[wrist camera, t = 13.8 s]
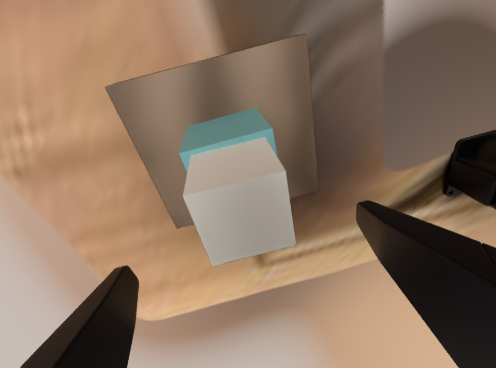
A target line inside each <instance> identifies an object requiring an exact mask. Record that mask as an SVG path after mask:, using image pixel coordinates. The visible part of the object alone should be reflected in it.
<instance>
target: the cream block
mask: <svg viewBox="0 0 496 368" xmlns="http://www.w3.org/2000/svg"><path fill="white" fill-rule="evenodd" d="M183 198H184V201H185V203H186V205H187V208H188V210H189V212H190V215H191V217H192V220H193V222H194V224H195V227H196V229H197V231H198V234H199V236H200V238H201V241H202V243H203V245H204V248H205V250H206V252H207V255H208V257H209V259H210V262H211V264H212V266H215V265H219V264H223V263H227V262H231V261H235V260H239V259H243V258H247V257H251V256H255V255H259V254H263V253H267V252H271V251H275V250H279V249H283V248H287V247H291V246H294V245H296V242H295V235H294V227H293V220H292V213H291V206H290V198H289V191H288V184H287V177H286V170H285V169H284V167H283V166H282V164H281V162H280V161H279V159H278V157H277V156H276V154H275V152H274V151H273V149H272V148H271V146H270V144H269V143H268V141H267V139H266V138H265V137H263V138H259V139H255V140H251V141H247V142H243V143H238V144H234V145H230V146H226V147H222V148H218V149H214V150H210V151H206V152H202V153H198V154H194V155H191V157H190V162H189V167H188V172H187V177H186V182H185V187H184V192H183Z"/></svg>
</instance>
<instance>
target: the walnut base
mask: <svg viewBox="0 0 496 368" xmlns="http://www.w3.org/2000/svg"><path fill="white" fill-rule="evenodd" d="M105 89H106V91H107V93H108V95H109V97H110V99H111V101H112V102H113V104H114V106H115V108H116V110H117V112H118V114H119V116H120V118H121V120H122V122H123V124H124V126H125V128H126V130H127V132H128V134H129V136H130V138H131V140H132V142H133V144H134V146H135V148H136V149H137V151H138V153H139V155H140V157H141V159H142V161H143V163H144V165H145V167H146V169H147V171H148V173H149V175H150V177H151V179H152V181H153V183H154V185H155V187H156V189H157V191H158V193H159V195H160V196H161V198H162V200H163V202H164V204H165V206H166V208H167V210H168V212H169V214H170V216H171V218H172V220H173V222H174V224H175V226H176V228H177V229H178V228H181V227H185V226H189V225H193V224H194V222H193V220H192V217H191V215H190V212H189V210H188V208H187V205H186V203H185V201H184V198H183V192H184V187H185V182H186V177H187V171H186V169H185V166H184V164H183V162H182V159H181V157H180V154H179V152H180V149H181V146H182V143H183V139H184V136H185V133H186V130H187V127H188V126H191V125H194V124H198V123H202V122H206V121H209V120H213V119H217V118H220V117H224V116H228V115H231V114H235V113H239V112H242V111H246V110H250V109H253V108H257V109H258V110H259V112H260V113H261V114H262V115H263V117H264V118H265V119H266V121H267V122H268V123H269V124H270V126H271V127H272V129H273V135H274V140H275V146H276V151H277V157H278V159H279V161H280V162H281V164H282V166H283V167H284V169H285V170H286V177H287V184H288V191H289V198H294V197H298V196H302V195H305V194H309V193H313V192H317V191H319V185H318V172H317V160H316V147H315V135H314V122H313V109H312V97H311V84H310V71H309V59H308V46H307V34H302V35H296V36H292V37H289V38H285V39H281V40H277V41H273V42H270V43H266V44H262V45H258V46H254V47H251V48H247V49H243V50H239V51H236V52H232V53H228V54H224V55H220V56H217V57H213V58H209V59H205V60H201V61H198V62H194V63H190V64H186V65H183V66H179V67H175V68H171V69H167V70H164V71H160V72H156V73H152V74H148V75H145V76H141V77H137V78H133V79H130V80H126V81H122V82H118V83H115V84H112V85H109V86H106V87H105Z"/></svg>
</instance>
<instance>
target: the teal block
mask: <svg viewBox="0 0 496 368" xmlns="http://www.w3.org/2000/svg"><path fill="white" fill-rule="evenodd" d="M263 137H265V138H266V139H267V141H268V143H269V144H270V146H271V148H272V149H273V151H274V152H275V154H276V156H277V151H276V146H275V140H274V135H273V129H272V127H271V126H270V124H269V123H268V122H267V121H266V119H265V118H264V117H263V115H262V114H261V113H260V112H259V110H258V109H257V108H253V109H250V110H246V111H242V112H239V113H235V114H231V115H228V116H224V117H220V118H217V119H213V120H209V121H206V122H202V123H198V124H194V125H191V126H188V127H187V130H186V133H185V136H184V139H183V143H182V146H181V149H180V152H179V154H180V157H181V159H182V162H183V164H184V166H185V169H186V171H187V172H188V167H189V162H190V157H191V155H194V154H198V153H202V152H206V151H210V150H214V149H218V148H222V147H226V146H230V145H234V144H238V143H243V142H247V141H251V140H255V139H259V138H263Z"/></svg>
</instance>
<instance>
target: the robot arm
mask: <svg viewBox="0 0 496 368" xmlns="http://www.w3.org/2000/svg"><path fill="white" fill-rule="evenodd" d="M443 193H444V194H445V195H446V196H448V197H449V196H453V195H457V194H461V193H464V194H466V195H467V196H469V197H471V198H473V199H474V200H476V201H478V202H480V203H481V204H483V205H485V206H490V207H492V208H494V209H496V130H493V131H490V132H486V133H482V134H478V135H474V136H471V137H467V138H463V139H460V140H459V141H457V143H456V145H455V148H454V152H453V156H452V160H451V164H450V168H449V172H448V176H447V180H446V184H445V188H444V192H443ZM356 220H357V224H358V226H359V228H360V229H361V231H362V233H363V234H364V236H365V238H366V239H367V241H368V243H369V245H370V246H371V248H372V250H373V251H374V253H375V255H376V256H377V258H378V259H379V261H380V262H381V264H382V265H383V266H384V268H385V269H386V270H387V272H388V273H389V275H390V276H391V277H392V279H393V280H394V281H395V282H396V284H397V285H398V287H399V288H400V289H401V291H402V292H403V293H404V295H405V296H406V297H407V298H408V300H409V301H410V303H411V304H412V305H413V307H414V308H415V309H416V311H417V312H418V314H419V315H420V316H421V318H422V319H423V320H424V322H425V323H426V324H427V326H428V327H429V328H430V330H431V331H432V332H433V334H434V335H435V336H436V338H437V339H438V340H439V342H440V343H441V344H442V346H443V347H444V349H445V350H446V351H447V353H448V354H449V355H450V357H451V358H452V359H453V361H454V362H455V363H456V365H457V366H458V367H459V368H496V248H495V247H492V246H490V245H487V244H484V243H482V244H481V242H479V241H476V240H473V239H471V238H468V237H466V236H463V235H460V234H458V233H455V232H452V231H450V230H447V229H444V228H442V227H439V226H436V225H434V224H431V223H428V222H426V221H423V220H420V219H418V218H415V217H412V216H410V215H407V214H404V213H402V212H399V211H396V210H394V209H391V208H388V207H386V206H383V205H380V204H378V203H375V202H372V201H369V200H366V201H362V202H359V203H358V204H357V210H356ZM138 290H139V281H138V278H137V277H136V275H135V274H134V273H133V271H132V270H131V269H130V267H129V266H121V267H118V268H116V269H114V270H113V271H112V272H111V273H110V274H109V275H108V277H107V278H106V279H105V280H104V281H103V282H102V283H101V284H100V285H99V286H98V287H97V288H96V289H95V290H94V291H93V292H92V293H91V294H90V295H89V296H88V297H87V298H86V300H84V301H83V302H82V304H81V305H80V306H79V307H78V308H77V309H76V310H75V311H74V312H73V313H72V314H71V315H70V316H69V317H68V318H67V319H66V320H65V321H64V322H63V323H62V324H61V325H60V326H59V327H58V328H57V329H56V330H55V332H54V333H53V334H52V335H51V336H50V337H49V338H48V339H47V340H46V341H45V342H44V343H43V344H42V345H41V346H40V347H39V348H38V349H37V350H36V351H35V352H34V353H33V354H32V355H31V357H29V359H28V360H27V361H26V362H25V363H24V364H23V365H22V366H21V367H20V368H127V365H128V360H129V355H130V349H131V344H132V339H133V334H134V328H135V321H136V312H137V301H138Z"/></svg>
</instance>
